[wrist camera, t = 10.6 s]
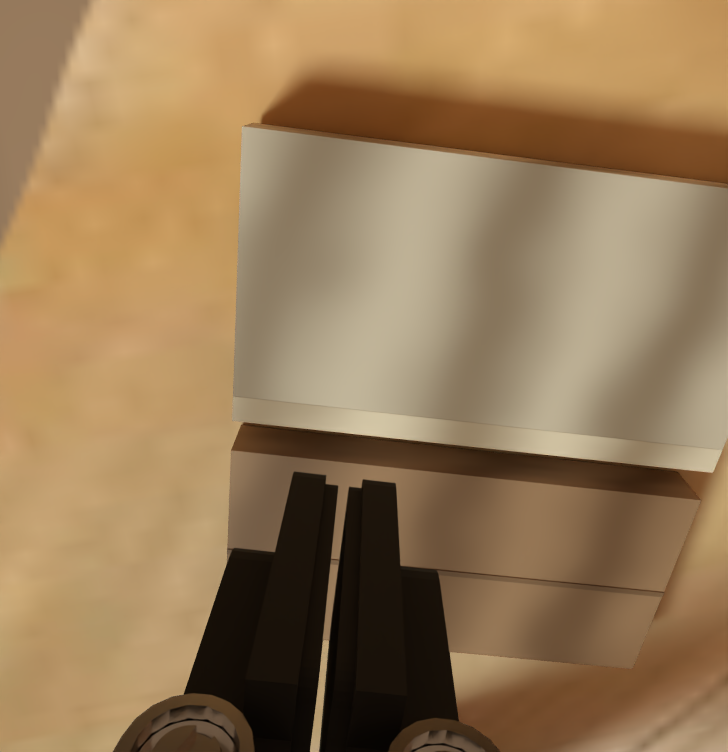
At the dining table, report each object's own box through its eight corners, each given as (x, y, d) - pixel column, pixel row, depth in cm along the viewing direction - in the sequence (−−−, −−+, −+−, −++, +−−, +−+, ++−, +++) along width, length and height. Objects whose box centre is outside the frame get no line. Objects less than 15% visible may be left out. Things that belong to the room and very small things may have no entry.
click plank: (788, 191, 21) (828, 201, 19) (687, 444, 25) (712, 472, 23) (253, 122, 20) (242, 125, 18) (242, 395, 24) (232, 420, 22)
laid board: (677, 471, 26) (701, 501, 24) (615, 633, 29) (633, 669, 27) (241, 424, 25) (231, 450, 23) (233, 596, 28) (223, 631, 26)
